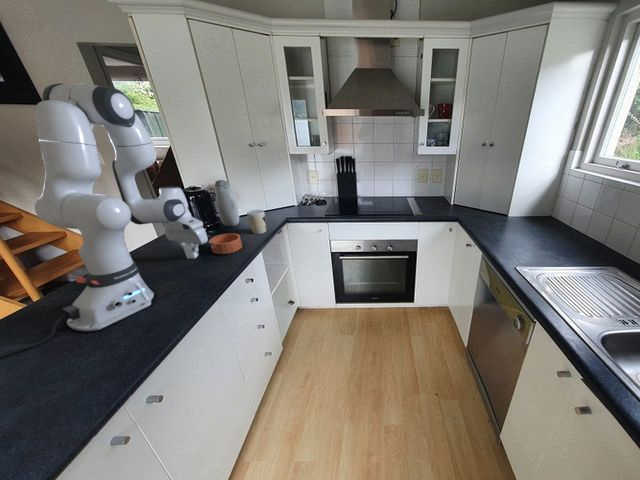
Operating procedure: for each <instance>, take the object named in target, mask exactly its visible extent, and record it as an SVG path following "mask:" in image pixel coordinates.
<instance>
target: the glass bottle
mask: <svg viewBox="0 0 640 480" xmlns="http://www.w3.org/2000/svg"><path fill="white" fill-rule="evenodd" d="M214 189H215V204H216V209H217V212H218V216H219V219H220V221H221V223H222V224H223V226H225V227H228V228H233V227H236V226H238V225H239V223H240V214H239V209H238V204H237V200H236V198H235V195H234V193H233V192H232V189H231V186H230V183H229V182H228V181H227V180H225V179H219V180H216V181H215V183H214Z"/></svg>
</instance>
